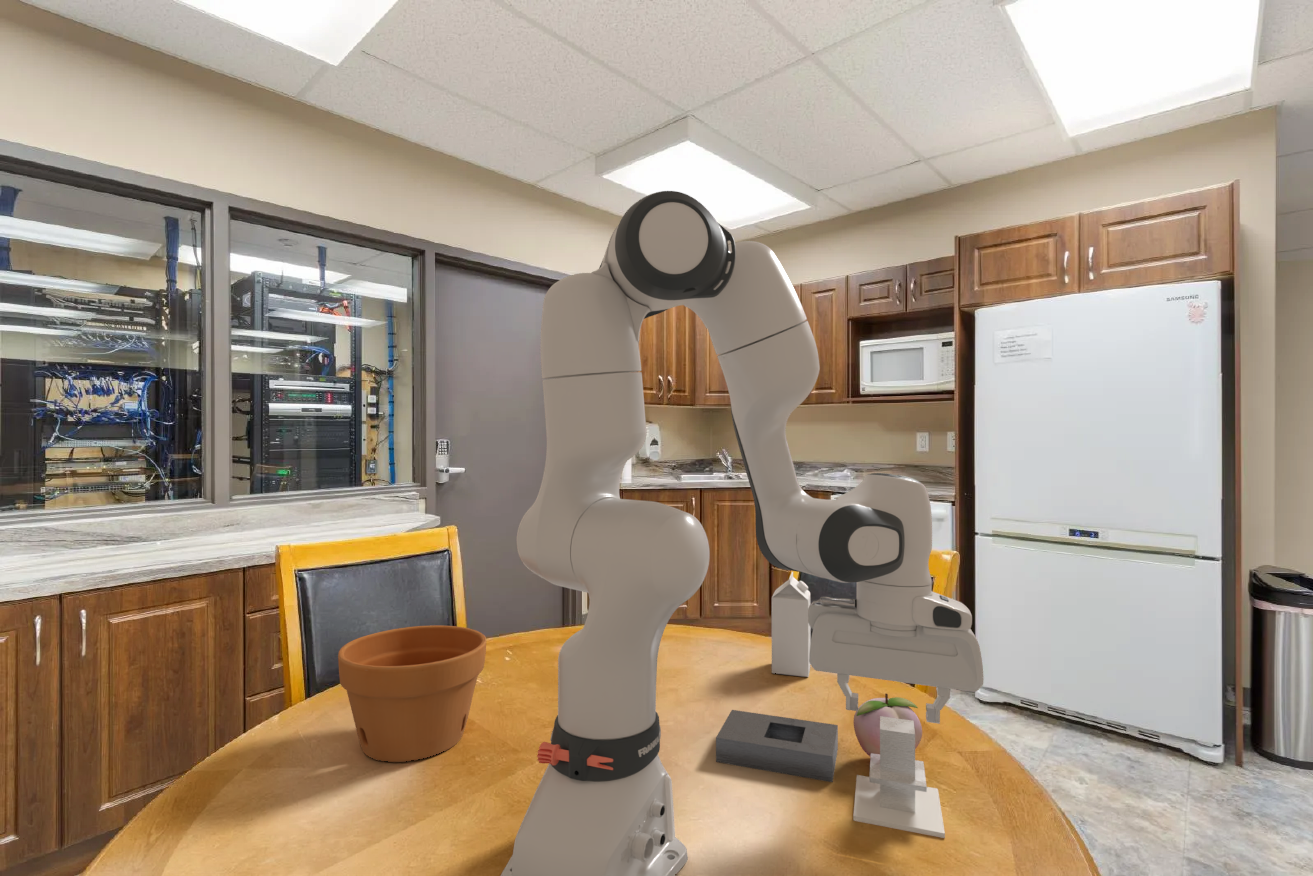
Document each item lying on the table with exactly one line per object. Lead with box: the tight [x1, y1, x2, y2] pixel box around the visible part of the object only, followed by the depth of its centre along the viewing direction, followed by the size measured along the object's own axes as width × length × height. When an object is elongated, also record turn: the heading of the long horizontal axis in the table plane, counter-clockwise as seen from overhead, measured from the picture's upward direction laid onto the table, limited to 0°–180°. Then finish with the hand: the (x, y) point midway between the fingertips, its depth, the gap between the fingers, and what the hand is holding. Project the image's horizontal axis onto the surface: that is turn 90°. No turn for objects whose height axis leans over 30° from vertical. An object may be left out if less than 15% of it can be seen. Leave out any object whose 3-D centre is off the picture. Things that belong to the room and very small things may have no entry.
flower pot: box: [337, 624, 487, 763], centre depth 96 cm, size 21×21×15 cm
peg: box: [869, 716, 928, 813], centre depth 79 cm, size 6×6×10 cm
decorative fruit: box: [853, 693, 923, 757], centre depth 89 cm, size 9×8×10 cm
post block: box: [715, 709, 839, 783], centre depth 92 cm, size 10×16×4 cm, turn 70°
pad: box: [852, 774, 946, 839], centre depth 79 cm, size 10×10×1 cm
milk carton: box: [771, 571, 812, 678], centre depth 127 cm, size 7×7×19 cm
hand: (891, 715), depth 79 cm, fingers open, 8 cm apart
